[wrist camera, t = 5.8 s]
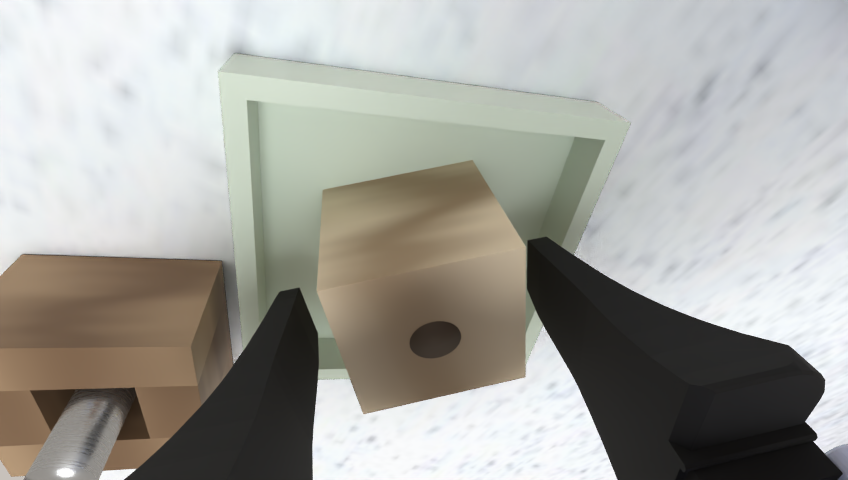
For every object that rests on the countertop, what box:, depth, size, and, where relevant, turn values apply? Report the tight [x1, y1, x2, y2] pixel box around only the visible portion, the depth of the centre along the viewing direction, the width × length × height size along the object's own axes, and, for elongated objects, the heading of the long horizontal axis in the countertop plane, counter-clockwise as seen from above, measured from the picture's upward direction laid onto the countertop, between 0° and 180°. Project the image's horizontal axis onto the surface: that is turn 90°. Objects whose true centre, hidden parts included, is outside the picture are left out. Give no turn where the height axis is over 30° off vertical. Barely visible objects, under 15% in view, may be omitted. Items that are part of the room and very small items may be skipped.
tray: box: [218, 53, 631, 380], centre depth 15 cm, size 11×11×2 cm
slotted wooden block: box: [0, 255, 233, 477], centre depth 15 cm, size 6×6×4 cm
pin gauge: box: [24, 388, 136, 480], centre depth 14 cm, size 2×2×6 cm
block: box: [317, 160, 526, 414], centre depth 14 cm, size 5×5×5 cm
